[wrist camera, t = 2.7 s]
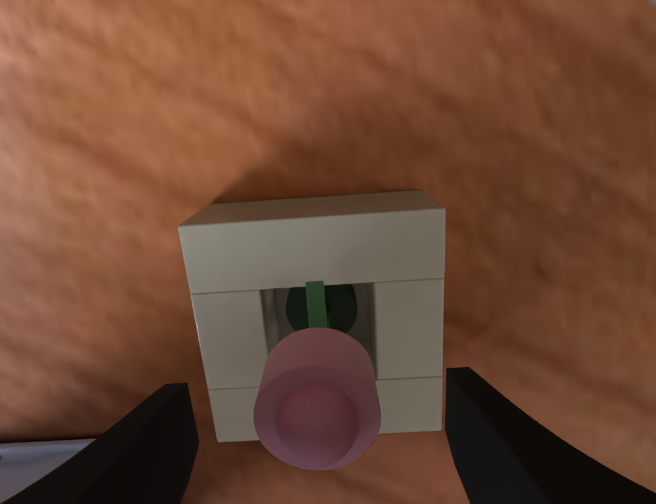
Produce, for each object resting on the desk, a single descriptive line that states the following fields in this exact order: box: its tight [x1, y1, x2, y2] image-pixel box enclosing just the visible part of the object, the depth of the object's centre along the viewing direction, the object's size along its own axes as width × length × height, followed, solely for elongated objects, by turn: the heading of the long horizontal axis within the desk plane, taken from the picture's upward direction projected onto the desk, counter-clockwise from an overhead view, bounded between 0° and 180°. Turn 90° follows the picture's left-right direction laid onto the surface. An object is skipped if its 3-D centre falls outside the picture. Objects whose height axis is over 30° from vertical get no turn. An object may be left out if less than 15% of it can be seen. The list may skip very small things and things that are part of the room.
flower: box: [253, 281, 381, 470], centre depth 14 cm, size 3×4×9 cm
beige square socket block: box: [178, 190, 446, 442], centre depth 17 cm, size 9×9×4 cm
